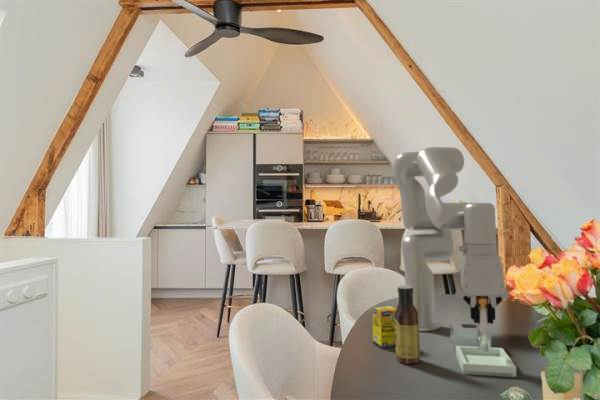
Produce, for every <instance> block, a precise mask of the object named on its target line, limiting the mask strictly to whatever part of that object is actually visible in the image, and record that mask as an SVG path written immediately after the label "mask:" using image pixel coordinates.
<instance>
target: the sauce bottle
mask: <svg viewBox="0 0 600 400" xmlns="http://www.w3.org/2000/svg"><path fill="white" fill-rule="evenodd" d="M397 293H398V304H397V307H396V309H397V310H396V313H395V341H396V347H395V354H396V359H397V362H400V363H402V364H407V365H414V364H417V363H419V362H420V355H421V346H420V345H421V344H420V343H421V341H420V331H419V322H418V312H417V310H416V308H415V307H414V305H413V287H412V286H405V285H399V286H397Z"/></svg>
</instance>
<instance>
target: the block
mask: <svg viewBox="0 0 600 400" xmlns="http://www.w3.org/2000/svg"><path fill="white" fill-rule="evenodd" d="M449 328H450V329H449V331H450V333H449V335H450V344H451V346H452V348H453V351H456V346H469V347H478V345H477V323H474V322H462V321H461V322H460V321H450V322H449ZM490 348H492V330H491V329H490Z"/></svg>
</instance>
